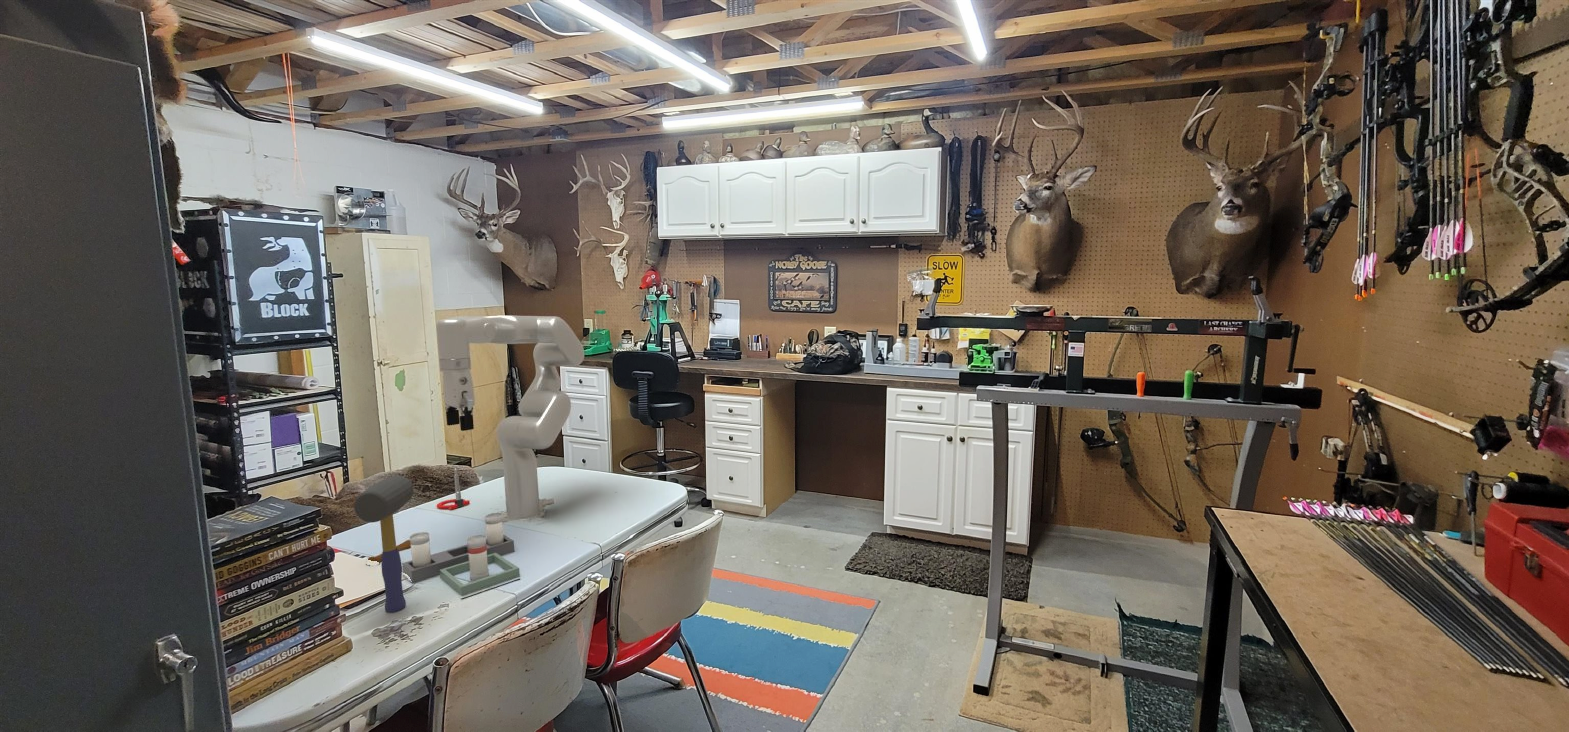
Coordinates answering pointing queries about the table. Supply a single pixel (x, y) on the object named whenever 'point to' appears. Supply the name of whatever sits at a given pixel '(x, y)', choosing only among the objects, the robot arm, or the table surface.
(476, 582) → the tray
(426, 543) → the cylinder
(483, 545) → the cylinder
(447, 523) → the table surface
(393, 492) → the rubber mallet
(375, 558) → the primitive tool
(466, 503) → the tow hook
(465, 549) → the fuse holder
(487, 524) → the cylinder
